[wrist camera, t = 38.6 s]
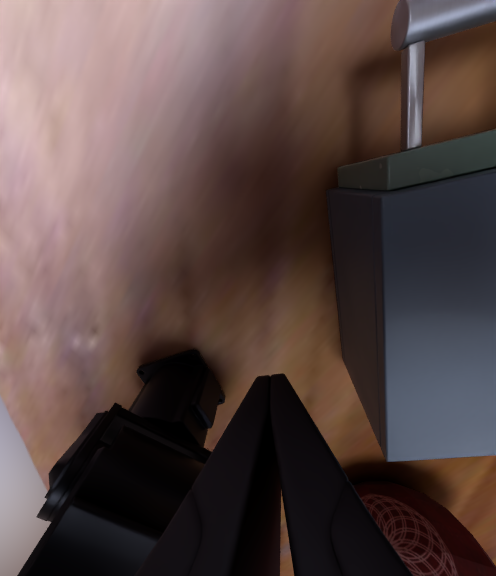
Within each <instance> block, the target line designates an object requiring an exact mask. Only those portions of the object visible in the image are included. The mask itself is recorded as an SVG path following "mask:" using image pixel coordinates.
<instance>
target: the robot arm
mask: <svg viewBox="0 0 496 576" xmlns="http://www.w3.org/2000/svg"><path fill="white" fill-rule="evenodd" d="M192 354H194V355H195V356H193V355H192ZM143 371H144V372H143ZM137 374H138V376H139V377H140V378H141V380H142V381H143V382H144V386H143V387H142V389H141V391H140V392H139V394H138V396H137V397H136V399H135V401H134V402H133V404H132V405H131V407H130V409H129V410H126V409H124V408H122V406H121V405H119V404H117V403H114V405H113V406H112V408H111V409H110V410H109V412H108V411H105V412H104V413H97V414H96V415H95V416H94V418H93V419H92V420H91V422H90V423H89V424H88V426H87V427H86V428H85V430H84V431H83V432H82V434H81V435H80V436H79V437H78V439H77V440H76V441H75V442H74V443H73V444H72V445H71V447H70V448H69V449H68V450H67V451H66V452H65V453H64V455H63V456H62V457H61V458H60V459H59V460H58V461H57V463H56V464H55V465H54V467H53V468H52V470H51V471H50V473H49V485H50V489H49V491H48V493H47V494H46V496H45V498H47V501H46V502H45V504H44V505H43V507H42V508H41V510H40V512H39V513H38V515H37V517H38V518H40V519H43V520H45V521H47V520H48V521H50V522H51V524H50V525H49V527H48V528H47V530H46V532H45V533H44V535H43V536H42V538H41V539H40V541H39V542H38V544H37V546H36V547H35V549H34V550H33V552H32V554H31V555H30V557H29V558H28V560H27V561H26V563H25V564H24V566H23V568H22V569H21V571H20V572H19V574H18V575H17V576H280V525H281V490H282V497H283V503H284V510H285V517H286V523H287V530H288V536H289V543H290V550H291V556H292V563H293V569H294V576H413V574H412V573H411V571H410V570H409V569H408V567H407V566H406V565H405V563H404V562H403V560H402V559H401V558H400V556H399V555H398V553H397V552H396V550H395V549H394V548H393V546H392V545H391V543H390V542H389V541H388V539H387V538H386V536H385V535H384V534H383V532H382V531H381V529H380V528H379V526H378V525H377V523H376V521H375V520H374V518H373V517H372V515H371V514H370V512H369V511H368V509H367V508H366V506H365V504H364V503H363V501H362V500H361V498H360V497H359V495H358V493H357V492H356V490H355V488H354V487H353V485H352V483H351V482H350V481H348V477H347V476H346V474H345V472H344V471H343V469H342V467H341V466H340V464H339V462H338V461H337V459H336V458H335V456H334V454H333V453H332V451H331V449H330V448H329V446H328V444H327V443H326V441H325V440H324V438H323V436H322V435H321V433H320V431H319V430H318V428H317V426H316V425H315V423H314V422H313V420H312V418H311V417H310V415H309V413H308V412H307V410H306V408H305V407H304V405H303V403H302V402H301V400H300V399H299V397H298V395H297V394H296V392H295V390H294V389H293V387H292V385H291V384H290V382H289V381H288V379H287V377H286V376H285V374H283V373H282V374H274V375H271V377H270V376H269V375H266V376H258V377H257V378H256V379H255V381H254V382H253V384H252V386H251V387H250V389H249V391H248V393H247V394H246V396H245V398H244V399H243V401H242V403H241V404H240V406H239V408H238V409H237V411H236V413H235V414H234V416H233V418H232V420H231V421H230V423H229V425H228V426H227V428H226V430H225V431H224V433H223V435H222V436H221V438H220V440H219V441H218V443H217V445H216V446H215V448H214V450H213V452H211V451H209V450H207V449H205V448H204V443H205V439H206V435H207V431H208V429H209V428H212V426H213V423H214V419H215V414H216V410H217V405H220V404H223V403H224V402H225V395H224V393H223V392H222V390H221V386H220V385H219V383H218V381H217V380H216V378H215V376H214V374H213V373H212V371H211V369H210V368H208V366H207V365H206V363H205V361H204V360H203V358H202V356H201V355H200V353H199V352H198V351H197V350H195V349H192V350H189V351H185V352H182V353H179V354H176V355H173V356H170V357H167V358H163V359H160V360H157V361H154V362H151V363H148V364H145V365H142V366H140V367H139V368H138V369H137ZM219 398H220V399H219Z"/></svg>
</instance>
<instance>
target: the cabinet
mask: <svg viewBox="0 0 496 576" xmlns="http://www.w3.org/2000/svg"><path fill="white" fill-rule="evenodd" d="M326 196H327V206H328V216H329V226H330V236H331V246H332V256H333V266H334V276H335V286H336V296H337V306H338V316H339V326H340V336H341V346H342V356H343V361H344V363H345V365H346V368H347V370H348V373H349V375H350V377H351V380H352V382H353V384H354V387H355V389H356V391H357V394H358V396H359V399H360V401H361V403H362V406H363V408H364V410H365V413H366V415H367V417H368V420H369V422H370V424H371V427H372V429H373V431H374V434H375V436H376V438H377V441H378V443H379V445H380V447H381V450H382V452H383V455H384V457H385V459H386V461H387V462H396V461H412V460H427V459H443V458H458V457H474V456H489V455H496V167H495V168H490V169H486V170H481V171H477V172H472V173H468V174H464V175H459V176H455V177H450V178H446V179H441V180H437V181H432V182H428V183H423V184H419V185H415V186H410V187H406V188H401V189H397V190H392V191H378V190H363V189H349V188H339V187H337V188H333V189H329V190H326Z"/></svg>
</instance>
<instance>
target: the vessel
mask: <svg viewBox="0 0 496 576" xmlns="http://www.w3.org/2000/svg"><path fill="white" fill-rule="evenodd" d="M353 487H354V488H355V490H356V492H357V493H358V495H359V497H360V498H361V500H362V501H363V503H364V504H365V506H366V508H367V509H368V511H369V512H370V514H371V515H372V517H373V518H374V520H375V521H376V523H377V525H378V526H379V528H380V529H381V531H382V532H383V534H384V535H385V536H386V538H387V539H388V541H389V542H390V543H391V545H392V546H393V548H394V549H395V550H396V552H397V553H398V555H399V556H400V558H401V559H402V560H403V562H404V563H405V565H406V566H407V567H408V569H409V570H410V571H411V573H412V574H413V576H496V566H495V565H494V563H493V562H492V560H491V559H490V558H489V556H488V555H487V554H486V552H485V551H484V550H483V548H482V547H481V546H480V544H479V543H478V542H477V540H476V539H475V538H474V537H473V535H472V534H471V533H470V532H469V531H468V530H467V529H466V528H465V527H464V526H463V525H462V524H461V523H460V522H459V521H458V520H457V519H456V518H455V517H454V516H453V515H452V514H451V513H450V512H449V511H448V510H447V509H446V508H445V507H443V506H442V505H440V504H439V503H437V502H436V501H434V500H433V499H431V498H430V497H428V496H427V495H426V494H424V493H421V492H418V491H415V490H412V489H410V488H407V487H404V486H401V485H398V484H395V483H392V482H389V481H365V482H362V483H359V484H356V485H353Z"/></svg>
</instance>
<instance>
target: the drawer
mask: <svg viewBox="0 0 496 576" xmlns="http://www.w3.org/2000/svg"><path fill="white" fill-rule="evenodd" d="M494 21H496V0H400V1H399V2H398V4H397V6H396V9H395V11H394V15H393V19H392V25H391V44H392V47H393V49H394V50H395V51H400V50H403V49H404V50H403V51H402V53H401V152H397V153H393V154H389V155H385V156H381V157H377V158H372V159H368V160H364V161H360V162H356V163H352V164H348V165H344V166H340V167H338V168H337V172H338V184H339V188H349V189H363V190H378V191H392V190H397V189H401V188H406V187H410V186H415V185H419V184H423V183H428V182H432V181H437V180H441V179H446V178H450V177H455V176H459V175H464V174H468V173H472V172H477V171H481V170H486V169H490V168H495V167H496V128H494V129H490V130H486V131H482V132H478V133H474V134H470V135H466V136H462V137H458V138H454V139H450V140H446V141H442V142H437V143H433V144H429V145H425V146H421V145H422V121H423V92H424V63H425V43H426V42H429V41H432V40H436V39H439V38H442V37H445V36H449V35H452V34H455V33H458V32H462V31H465V30H468V29H472V28H475V27H478V26H481V25H485V24H488V23H491V22H494Z"/></svg>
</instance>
